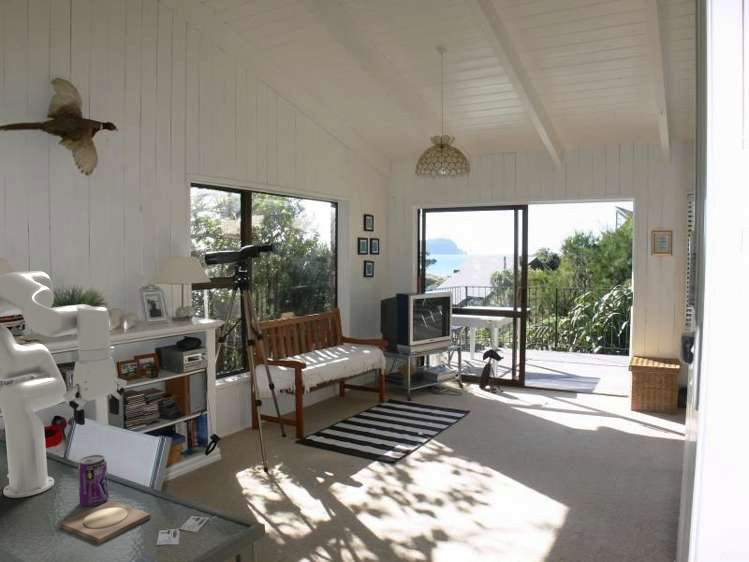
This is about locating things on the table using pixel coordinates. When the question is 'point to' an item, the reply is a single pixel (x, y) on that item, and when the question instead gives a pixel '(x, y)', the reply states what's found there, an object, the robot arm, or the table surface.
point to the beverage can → (93, 480)
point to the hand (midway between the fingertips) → (97, 418)
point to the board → (105, 521)
